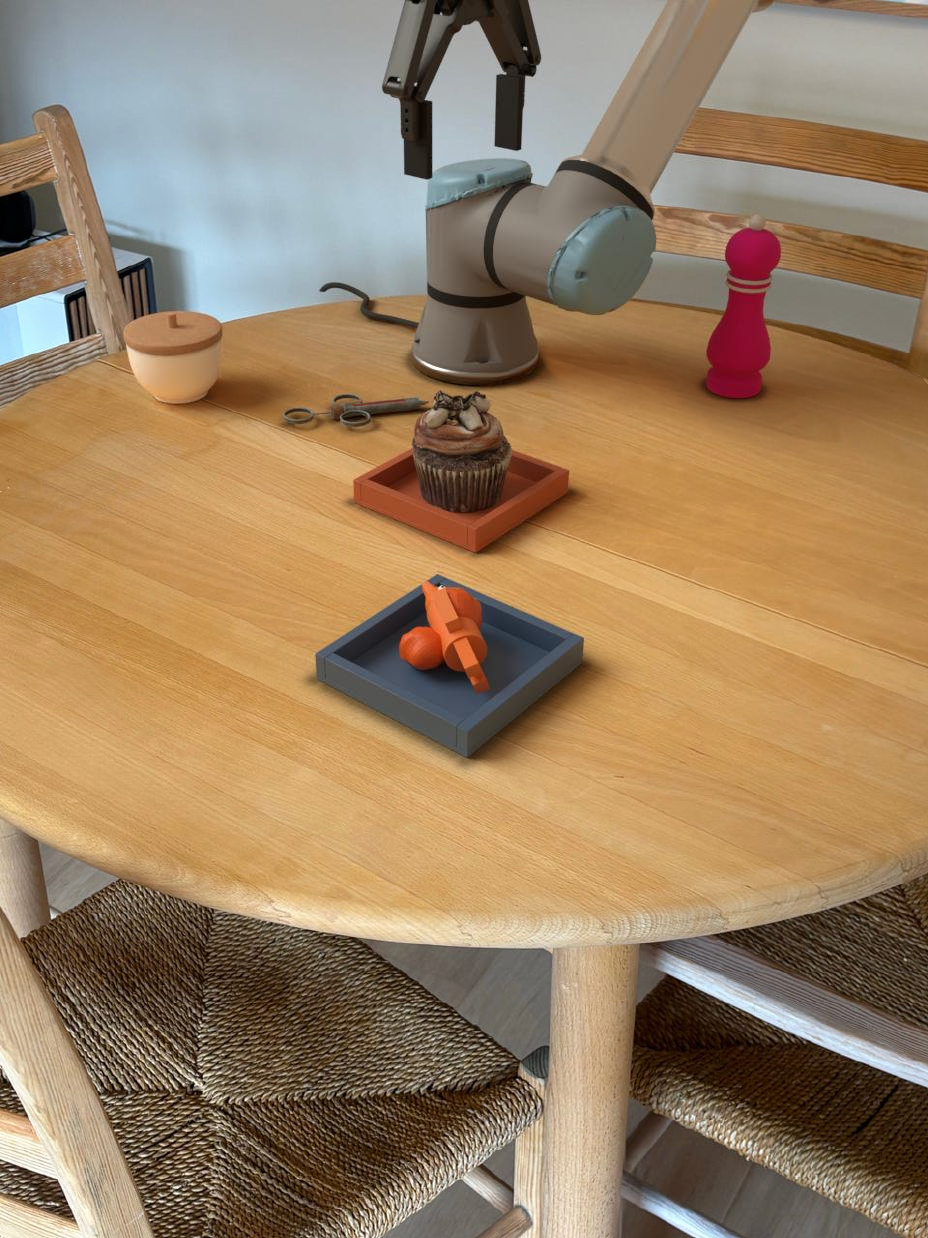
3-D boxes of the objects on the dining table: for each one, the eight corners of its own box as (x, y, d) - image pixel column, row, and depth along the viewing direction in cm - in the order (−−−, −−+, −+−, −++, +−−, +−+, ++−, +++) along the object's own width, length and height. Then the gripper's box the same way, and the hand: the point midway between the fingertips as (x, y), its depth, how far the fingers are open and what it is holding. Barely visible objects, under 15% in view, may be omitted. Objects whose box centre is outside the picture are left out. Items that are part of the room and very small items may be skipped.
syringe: (452, 421, 137) (452, 407, 136) (289, 439, 133) (288, 424, 132) (434, 393, 143) (434, 379, 142) (278, 409, 139) (277, 395, 138)
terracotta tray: (353, 502, 121) (352, 479, 120) (449, 449, 131) (450, 427, 130) (475, 553, 114) (476, 529, 112) (568, 492, 123) (569, 469, 122)
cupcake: (415, 519, 118) (414, 422, 112) (410, 471, 126) (409, 378, 120) (515, 516, 118) (519, 419, 113) (504, 469, 126) (508, 376, 121)
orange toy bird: (500, 640, 91) (459, 557, 101) (407, 680, 91) (374, 593, 101) (519, 688, 94) (477, 603, 104) (428, 727, 94) (395, 639, 104)
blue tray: (316, 679, 98) (314, 653, 96) (437, 598, 107) (437, 573, 106) (467, 758, 90) (467, 731, 89) (582, 663, 100) (584, 637, 98)
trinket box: (163, 421, 136) (152, 339, 130) (115, 390, 142) (103, 310, 137) (246, 395, 141) (239, 315, 136) (196, 366, 148) (188, 289, 143)
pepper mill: (695, 394, 143) (718, 219, 132) (709, 371, 149) (732, 201, 138) (758, 404, 141) (786, 228, 130) (769, 381, 147) (798, 209, 136)
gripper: (406, -87, 95) (409, 197, 107) (587, -105, 111) (572, 143, 123) (333, -94, 98) (344, 181, 110) (519, -110, 115) (511, 131, 127)
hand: (464, 161), depth 117 cm, fingers open, 13 cm apart
